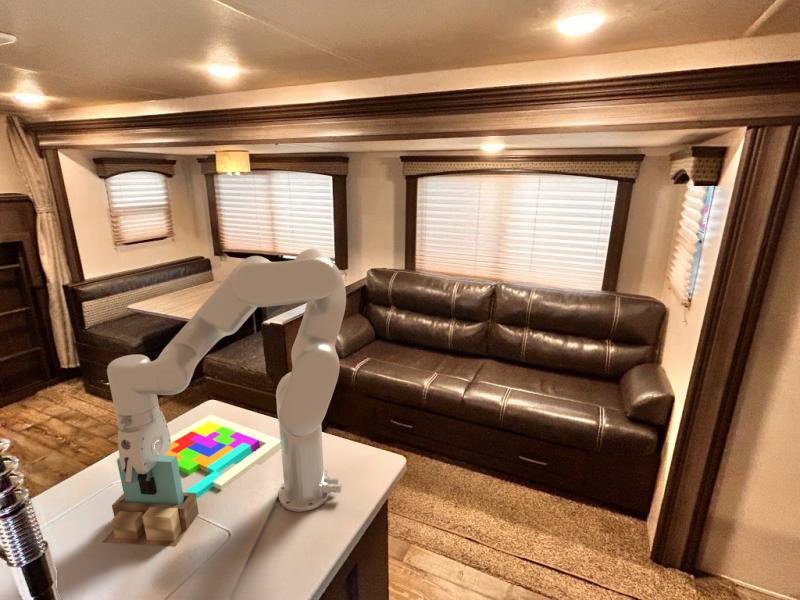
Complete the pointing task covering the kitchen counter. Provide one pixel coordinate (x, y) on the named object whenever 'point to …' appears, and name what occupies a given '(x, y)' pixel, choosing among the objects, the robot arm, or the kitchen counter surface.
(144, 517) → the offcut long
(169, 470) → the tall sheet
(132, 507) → the rack
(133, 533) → the offcut short
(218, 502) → the kitchen counter surface
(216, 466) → the puzzle game
